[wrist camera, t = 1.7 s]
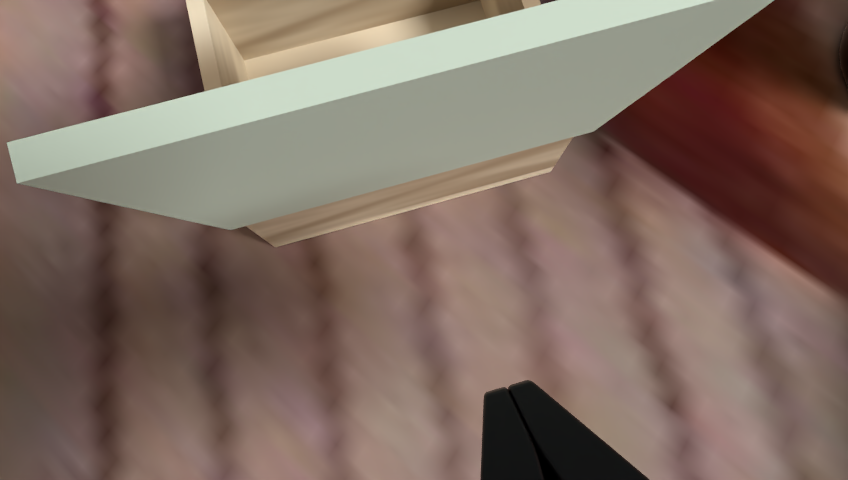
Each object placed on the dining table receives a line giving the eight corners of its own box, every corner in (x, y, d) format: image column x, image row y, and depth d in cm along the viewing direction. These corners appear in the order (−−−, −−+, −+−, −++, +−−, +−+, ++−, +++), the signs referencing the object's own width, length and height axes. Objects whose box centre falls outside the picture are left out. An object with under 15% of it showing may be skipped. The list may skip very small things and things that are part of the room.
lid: (582, 107, 17) (590, 133, 17) (226, 203, 17) (233, 230, 17) (790, -80, 8) (807, -24, 8) (1, 122, 7) (17, 183, 7)
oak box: (550, 171, 22) (584, 118, 17) (275, 247, 22) (230, 215, 17) (487, -6, 24) (502, -98, 19) (233, 59, 24) (181, -19, 19)
